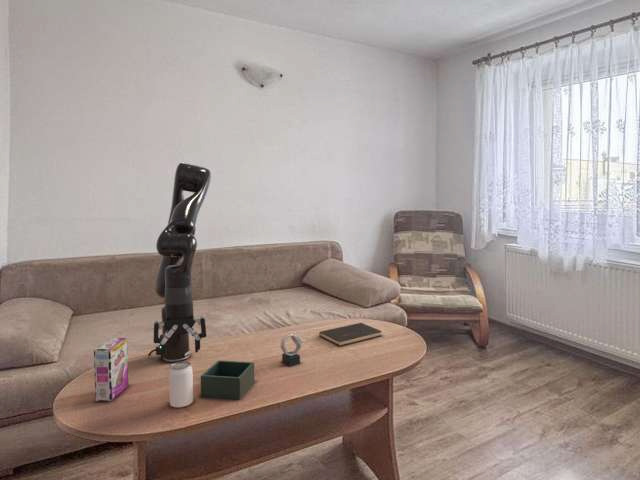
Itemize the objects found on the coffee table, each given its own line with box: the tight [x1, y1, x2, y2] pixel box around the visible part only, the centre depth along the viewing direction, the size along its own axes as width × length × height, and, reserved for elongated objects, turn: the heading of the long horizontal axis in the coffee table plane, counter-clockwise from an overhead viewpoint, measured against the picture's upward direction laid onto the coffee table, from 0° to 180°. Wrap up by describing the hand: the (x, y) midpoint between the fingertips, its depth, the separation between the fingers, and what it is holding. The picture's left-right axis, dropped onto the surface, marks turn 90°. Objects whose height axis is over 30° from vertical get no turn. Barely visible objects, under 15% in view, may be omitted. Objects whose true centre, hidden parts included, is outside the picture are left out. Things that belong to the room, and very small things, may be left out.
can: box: [168, 361, 194, 409], centre depth 132 cm, size 6×6×12 cm
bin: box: [200, 359, 255, 400], centre depth 142 cm, size 13×13×7 cm
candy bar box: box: [93, 337, 129, 402], centre depth 136 cm, size 11×5×16 cm, turn 5°
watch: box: [280, 333, 303, 367], centre depth 164 cm, size 6×8×11 cm
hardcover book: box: [318, 322, 383, 347], centre depth 196 cm, size 16×23×2 cm
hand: (181, 353), depth 131 cm, fingers open, 8 cm apart
